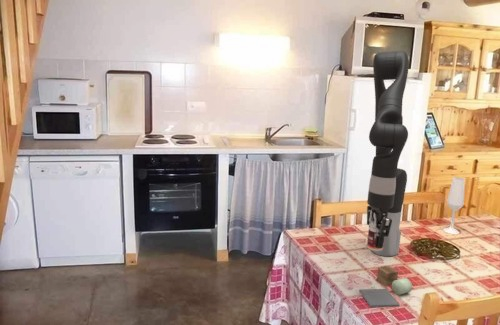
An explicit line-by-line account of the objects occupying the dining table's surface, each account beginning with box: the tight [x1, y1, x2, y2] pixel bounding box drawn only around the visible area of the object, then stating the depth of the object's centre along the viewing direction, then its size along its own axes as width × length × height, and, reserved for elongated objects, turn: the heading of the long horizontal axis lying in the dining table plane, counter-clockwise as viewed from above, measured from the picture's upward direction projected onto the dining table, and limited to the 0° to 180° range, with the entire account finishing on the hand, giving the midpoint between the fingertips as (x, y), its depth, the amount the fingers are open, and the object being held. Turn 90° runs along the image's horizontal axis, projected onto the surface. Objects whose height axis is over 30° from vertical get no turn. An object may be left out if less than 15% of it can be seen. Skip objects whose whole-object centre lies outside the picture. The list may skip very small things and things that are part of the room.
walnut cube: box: [376, 265, 399, 287], centre depth 139 cm, size 4×4×4 cm
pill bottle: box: [366, 220, 384, 251], centre depth 129 cm, size 5×5×8 cm
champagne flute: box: [442, 176, 466, 235], centre depth 184 cm, size 7×7×24 cm
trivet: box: [358, 288, 400, 308], centre depth 129 cm, size 9×9×1 cm
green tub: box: [391, 277, 413, 296], centre depth 132 cm, size 4×4×4 cm
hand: (375, 243), depth 129 cm, fingers closed on pill bottle, 4 cm apart
